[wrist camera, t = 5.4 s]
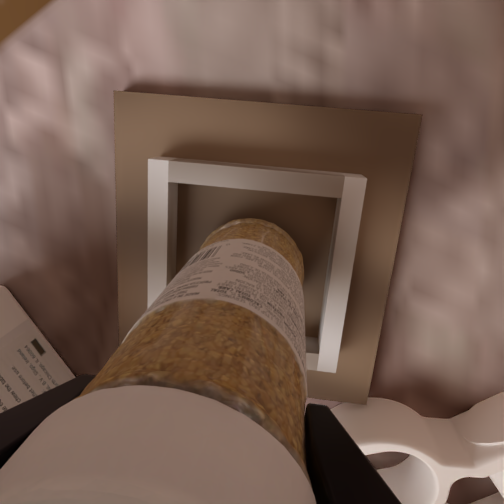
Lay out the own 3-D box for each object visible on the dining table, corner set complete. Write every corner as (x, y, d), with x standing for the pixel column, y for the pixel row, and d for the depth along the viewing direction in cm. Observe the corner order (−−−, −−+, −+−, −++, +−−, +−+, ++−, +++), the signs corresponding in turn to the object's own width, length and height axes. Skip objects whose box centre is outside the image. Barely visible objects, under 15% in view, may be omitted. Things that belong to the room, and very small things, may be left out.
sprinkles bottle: (229, 332, 18) (59, 821, 5) (178, 242, 17) (-179, 574, 4) (324, 292, 17) (401, 780, 4) (276, 194, 16) (189, 441, 3)
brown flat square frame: (363, 394, 20) (371, 425, 18) (125, 364, 21) (106, 390, 19) (416, 115, 16) (434, 113, 14) (121, 92, 17) (97, 87, 15)
